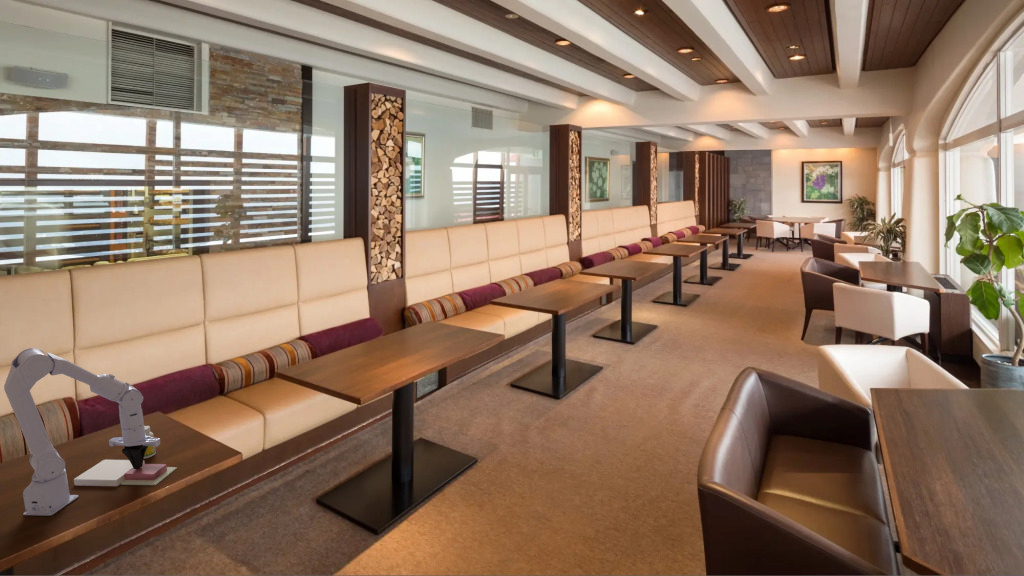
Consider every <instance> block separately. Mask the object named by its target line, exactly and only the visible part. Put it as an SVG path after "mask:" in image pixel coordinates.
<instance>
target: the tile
mask: <svg viewBox="0 0 1024 576" xmlns="http://www.w3.org/2000/svg"><path fill="white" fill-rule="evenodd" d="M167 467H168V466H167V464H166V463H164V464H163V463H145V464H143V465H142V467H140V468H139V469H134V468H131V469H130V470H129V471H127V472H126V473H124V476H125V480H155V479H157V478H158V477H159V476H160V475H162V474H163V473H164V472H166V471H167Z"/></svg>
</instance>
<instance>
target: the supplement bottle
mask: <svg viewBox="0 0 1024 576" xmlns="http://www.w3.org/2000/svg"><path fill="white" fill-rule="evenodd" d="M144 428H145V434H146V436H149V437H153V438H155V436H154V433H153V432H152V431H151V426H150V425H144ZM156 454H157V453H156V447H153V446H148V448H147V450H146V452H145V455H144V459H149V458H151V457H153V456H155V455H156ZM144 459H143V460H144Z"/></svg>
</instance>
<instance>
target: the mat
mask: <svg viewBox="0 0 1024 576" xmlns="http://www.w3.org/2000/svg"><path fill="white" fill-rule="evenodd" d="M177 469H178V467H177V466H175V467H174V466H167V471H166V472H164V473H163V474H162V475H160V476H159V477H158V478H157V479H155V480H124V481H123V482H122V483H120V486H121V485H125V486H126V485H127V486H157V485H158V484H159V483H160V482H162V481H163V480H164V479H165V478H167V477H168V476H169V475H171V474H172V473H173V472H175V470H177Z"/></svg>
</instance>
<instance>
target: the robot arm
mask: <svg viewBox="0 0 1024 576" xmlns="http://www.w3.org/2000/svg"><path fill="white" fill-rule="evenodd" d="M47 375H50V376H51V377H52V376H53V377H54V376H58V375H64V376H66V377H68V378H72V379H73V380H76V381H79V382H82V383H84V384H85V385H88V386H89V390H90V392H91V393H94V394H96V395H98V396H100V397H103V398H105V399H107V400H109V401H111V402H115V403H117V404H118V411H119V413H118V416H119V422H120V430H121V436H119V437H112V438H110V439H109V440H108V444H109V447H115V446H123V447H124V448H122V450H121V453H122V454H123V455H125V456H126V457H127V460H130V462H131V464H132V466H133V468H134V469H139V468H140V467H142V465H143V460H144V455H145V452H146V450H147V448H148V446H153V447H155V448H158V447H159V446H160V445H161V438H159V437H154V438H153V437H149V436H146V434H145V428H144V426H145V422H144V414H143V413H144V412H143V408H142V403H143V401H144V395H143V394H142V393H141V391H140V390H138V389H137V388H135V387H134V386H133V385H132V384H130V383H129V382H127V381H125V382H123V381H120V380H118V379H117V378H116V376H115V375H113V373H112V374H111V373H109V374H107V373H102V374H95V373H93V372H91V371H89V370H88V369H85V368H83V367H82V366H80V365H77V364H76V363H74V362H72V361H69V360H67V359H66V358H64V357H61V356H58V355H56V354H53V353H51V352H47V351H46V353H45V352H44V351H43V350H42V349H40V348H37V347H29V348H26V349H24V350H22V351H20V352H19V353H18V354H17V356H15V358H14V359H12V361H11V365H10V370H9V372H8V374H7V377H6V379H5V383H4V385H3V389H4V392H5V394H6V395H5V396H6V397H7V399H8V402H9V404H10V406H11V409H12V411H13V414H14V416H15V418H16V420H17V423H18V426H19V427H20V430H21V432H22V434H23V437H24V439H25V441H26V444H27V447H28V450H29V453H30V456H29V460H28V461H29V464H30V466H31V467H32V468H33V470H34V473H33V474H32V476H31V482H30V483H29V485H27V486H26V487H25V488H24V489H23V493H22V497H23V503H24V508H25V511H24V512H23V515H24V516H45V517H46V516H49V517H50V516H53V515H54V514H56V513H57V512H58V511H61V510H62V509H63V508H65V507H66V506H67V505H69V504H70V503H72V502H74V501H75V500H77V499H78V498H79V495H78V494H70V488H69V481H68V476H67V475H68V474H67V470H66V461H65V460H64V458H62V457H61V456H60V454H59V452H58V450H57V449H56V448H54V445H53V443H52V442H51V439H50V437H49V435H48V432H47V430H46V427H45V424H44V422H43V420H42V418H41V415H40V413H39V410H38V408H37V405H36V402H35V400H34V398H33V395H32V393H31V390H32V388H33V387H34V386H35V385H36V383H37V382H39V381H40V380H42V378H45V377H46V376H47Z"/></svg>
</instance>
